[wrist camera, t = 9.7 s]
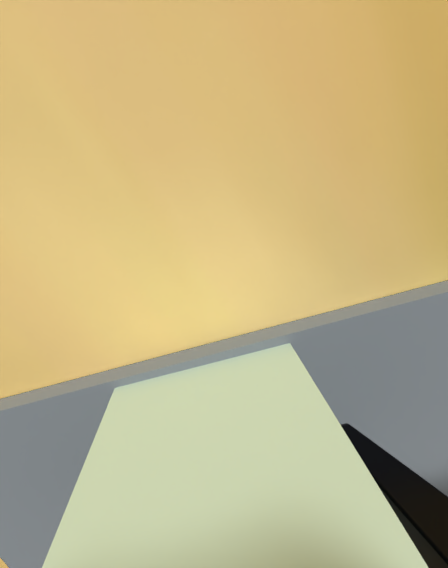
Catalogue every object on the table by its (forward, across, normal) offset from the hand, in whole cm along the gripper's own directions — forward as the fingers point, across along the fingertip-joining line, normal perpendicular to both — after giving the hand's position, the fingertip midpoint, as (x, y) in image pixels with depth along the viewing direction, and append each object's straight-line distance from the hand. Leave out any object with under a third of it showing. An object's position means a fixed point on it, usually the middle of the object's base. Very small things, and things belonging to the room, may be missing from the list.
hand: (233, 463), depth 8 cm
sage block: (0, 0, -1) cm, 1 cm away
